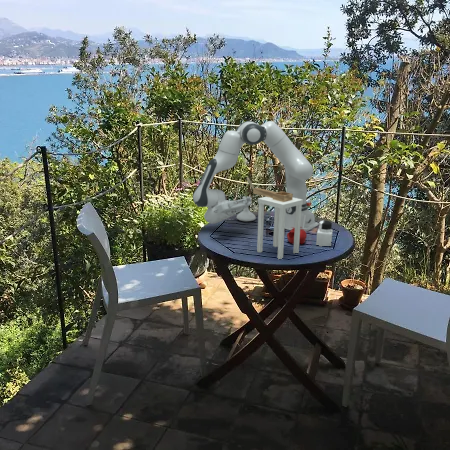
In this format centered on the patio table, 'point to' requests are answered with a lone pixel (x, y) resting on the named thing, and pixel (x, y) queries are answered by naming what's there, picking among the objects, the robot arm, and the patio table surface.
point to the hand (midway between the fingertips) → (243, 200)
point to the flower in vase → (246, 214)
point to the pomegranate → (291, 236)
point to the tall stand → (279, 223)
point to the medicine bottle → (324, 234)
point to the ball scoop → (274, 194)
